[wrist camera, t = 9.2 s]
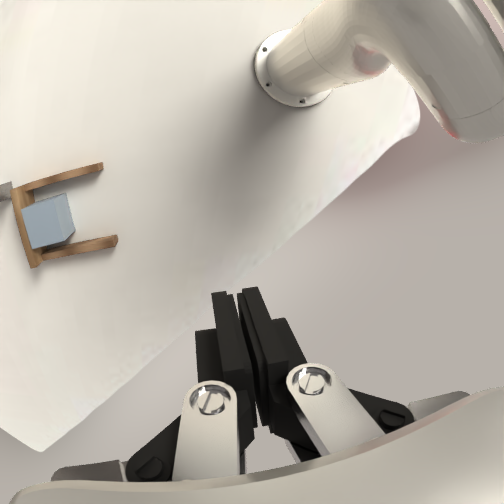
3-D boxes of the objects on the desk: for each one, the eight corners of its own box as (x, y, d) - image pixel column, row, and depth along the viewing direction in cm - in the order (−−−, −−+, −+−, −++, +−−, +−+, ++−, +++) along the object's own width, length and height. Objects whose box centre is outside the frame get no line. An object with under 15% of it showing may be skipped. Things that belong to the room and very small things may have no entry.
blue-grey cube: (66, 192, 38) (53, 199, 33) (75, 230, 40) (64, 240, 36) (35, 202, 37) (20, 209, 33) (45, 238, 39) (32, 249, 35)
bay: (102, 162, 38) (92, 165, 33) (118, 240, 42) (110, 252, 38) (25, 184, 36) (9, 190, 31) (43, 256, 40) (30, 268, 36)
